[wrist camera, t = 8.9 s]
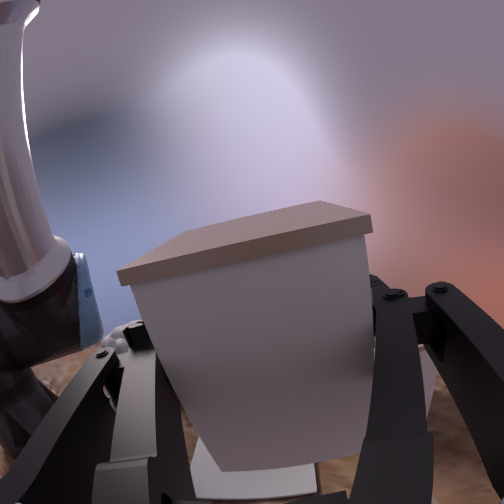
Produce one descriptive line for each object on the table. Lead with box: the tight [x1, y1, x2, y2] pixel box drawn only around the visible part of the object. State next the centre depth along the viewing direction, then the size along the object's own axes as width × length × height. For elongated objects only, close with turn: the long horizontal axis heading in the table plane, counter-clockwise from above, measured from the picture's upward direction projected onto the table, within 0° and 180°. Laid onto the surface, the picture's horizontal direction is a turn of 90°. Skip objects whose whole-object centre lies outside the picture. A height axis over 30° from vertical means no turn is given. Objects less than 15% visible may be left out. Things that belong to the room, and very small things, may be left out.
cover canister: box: [117, 201, 374, 472], centre depth 12 cm, size 7×7×10 cm
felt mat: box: [190, 437, 317, 500], centre depth 22 cm, size 12×12×1 cm
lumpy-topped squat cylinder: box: [101, 320, 140, 355], centre depth 39 cm, size 10×13×9 cm
